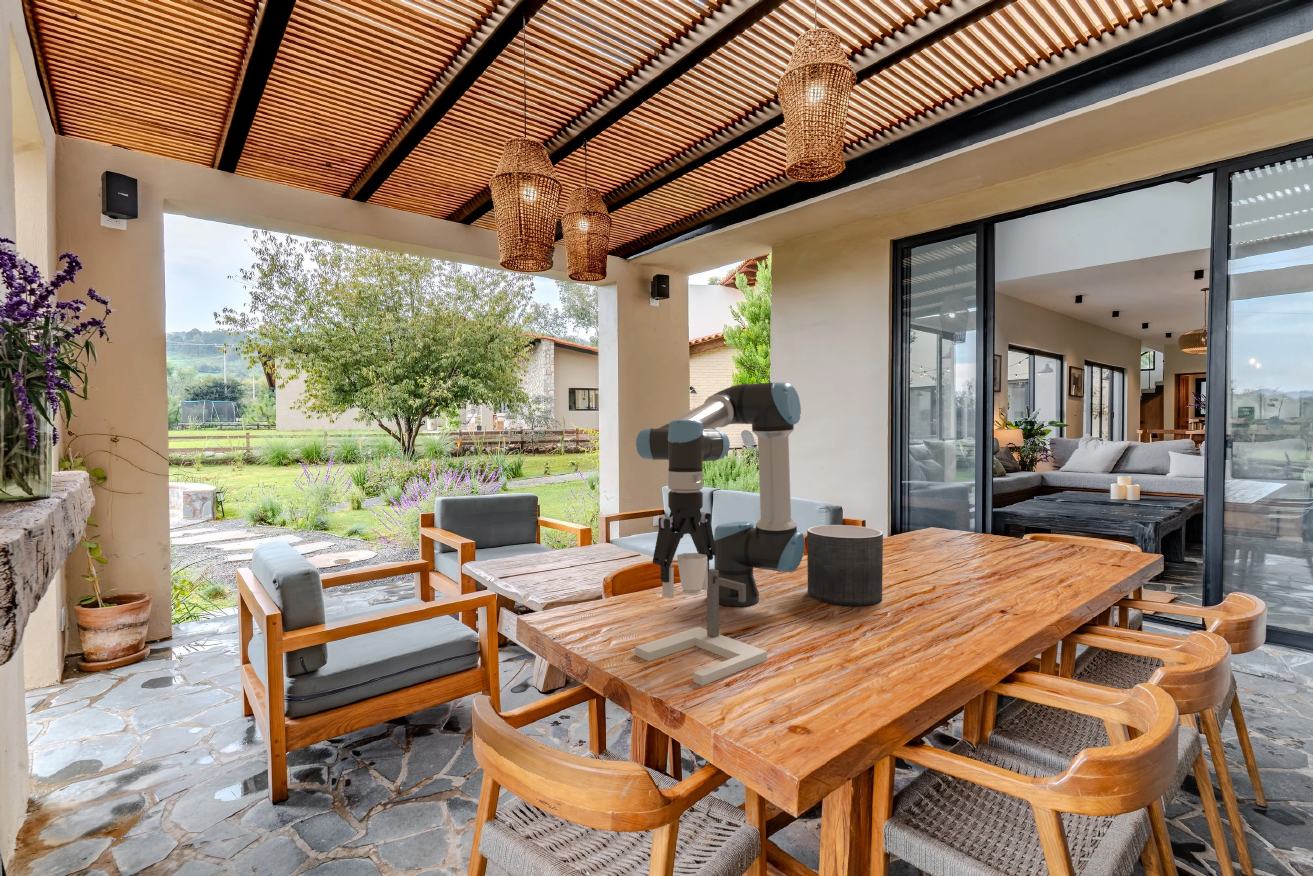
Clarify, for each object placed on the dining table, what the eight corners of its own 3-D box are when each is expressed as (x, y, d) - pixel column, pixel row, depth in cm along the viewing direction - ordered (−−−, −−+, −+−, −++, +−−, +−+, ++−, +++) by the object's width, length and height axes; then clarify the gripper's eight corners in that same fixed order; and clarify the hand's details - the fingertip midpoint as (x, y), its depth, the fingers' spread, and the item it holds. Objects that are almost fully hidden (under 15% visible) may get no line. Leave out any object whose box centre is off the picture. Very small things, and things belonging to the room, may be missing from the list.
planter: (881, 589, 196) (882, 526, 195) (883, 610, 175) (883, 539, 174) (810, 584, 203) (810, 523, 202) (803, 603, 182) (803, 535, 181)
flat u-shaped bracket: (635, 655, 142) (635, 646, 142) (698, 634, 155) (698, 626, 155) (702, 686, 125) (702, 676, 125) (767, 660, 139) (767, 651, 139)
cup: (713, 594, 134) (713, 557, 134) (672, 600, 130) (672, 562, 129) (698, 586, 140) (698, 551, 140) (658, 591, 136) (658, 555, 136)
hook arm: (707, 635, 149) (706, 570, 148) (712, 634, 150) (712, 568, 150) (741, 648, 140) (741, 578, 140) (747, 646, 142) (747, 577, 141)
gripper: (658, 495, 124) (658, 606, 125) (732, 488, 139) (732, 587, 139) (635, 492, 130) (635, 598, 130) (709, 486, 144) (709, 580, 145)
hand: (685, 592), depth 135 cm, fingers closed on cup, 9 cm apart
